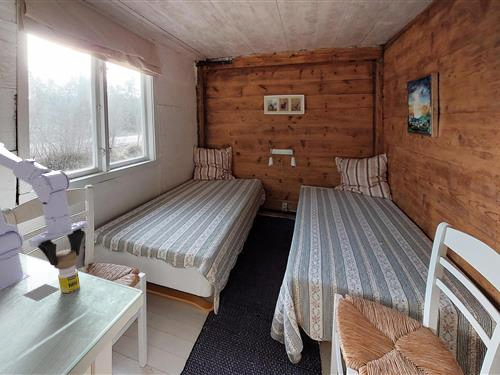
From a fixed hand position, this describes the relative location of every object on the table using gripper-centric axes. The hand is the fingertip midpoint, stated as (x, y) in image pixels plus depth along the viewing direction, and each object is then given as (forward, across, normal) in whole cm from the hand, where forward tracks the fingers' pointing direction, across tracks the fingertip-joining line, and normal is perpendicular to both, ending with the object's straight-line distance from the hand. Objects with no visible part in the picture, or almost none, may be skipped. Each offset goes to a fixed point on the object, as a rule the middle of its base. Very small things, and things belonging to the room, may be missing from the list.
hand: (65, 259), depth 76 cm
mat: (+10, -4, +7) cm, 13 cm away
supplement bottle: (+11, 0, 0) cm, 11 cm away
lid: (+1, 0, 0) cm, 1 cm away
